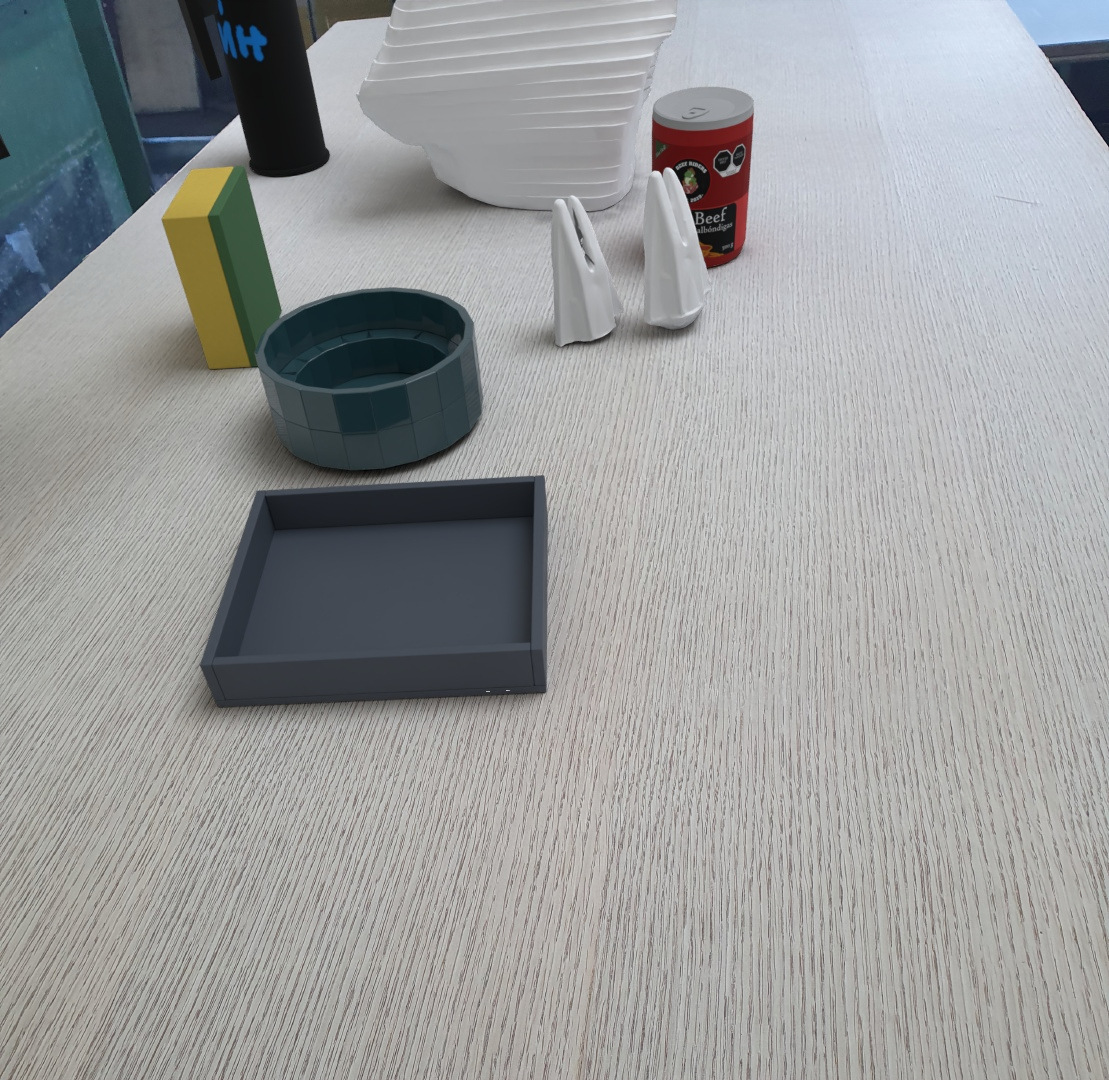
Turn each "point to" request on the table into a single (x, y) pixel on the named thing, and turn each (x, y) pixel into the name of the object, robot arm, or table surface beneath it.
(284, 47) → the aerosol can
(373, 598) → the tray
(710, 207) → the canned food
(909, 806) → the table surface
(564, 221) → the shaker set
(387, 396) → the bowl
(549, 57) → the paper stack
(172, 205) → the sponge
